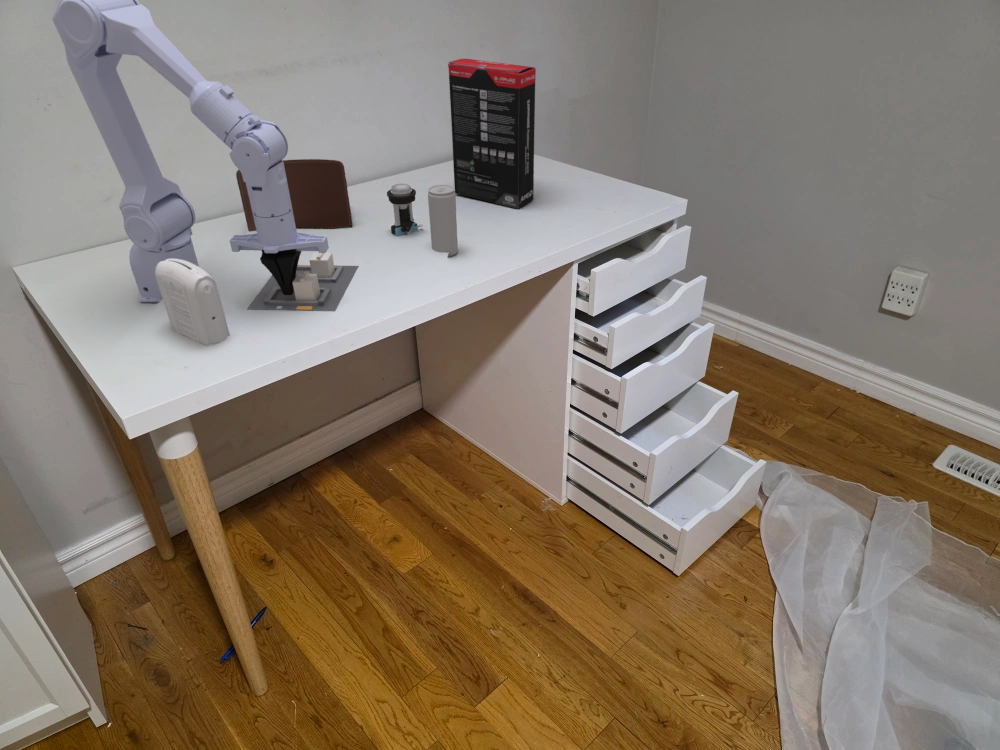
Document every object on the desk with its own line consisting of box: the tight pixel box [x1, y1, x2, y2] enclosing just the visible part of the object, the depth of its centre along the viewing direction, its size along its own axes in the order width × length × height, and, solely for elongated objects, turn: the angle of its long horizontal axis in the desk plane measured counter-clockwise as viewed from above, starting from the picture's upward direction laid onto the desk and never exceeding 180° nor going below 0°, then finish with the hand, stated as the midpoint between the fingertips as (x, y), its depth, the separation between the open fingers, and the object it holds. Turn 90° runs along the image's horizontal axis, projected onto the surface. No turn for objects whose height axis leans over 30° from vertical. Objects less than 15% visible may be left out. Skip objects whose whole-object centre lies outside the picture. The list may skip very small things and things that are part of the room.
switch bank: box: [246, 264, 359, 312], centre depth 114 cm, size 14×16×2 cm
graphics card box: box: [447, 58, 537, 210], centre depth 142 cm, size 17×7×27 cm, turn 58°
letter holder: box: [235, 158, 353, 232], centre depth 136 cm, size 10×20×14 cm, turn 103°
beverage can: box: [427, 184, 459, 258], centre depth 124 cm, size 5×5×12 cm
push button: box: [386, 183, 424, 238], centre depth 130 cm, size 7×5×10 cm
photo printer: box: [155, 259, 231, 347], centre depth 100 cm, size 10×4×12 cm, turn 55°
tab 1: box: [292, 272, 320, 301], centre depth 109 cm, size 3×3×4 cm
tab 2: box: [308, 252, 335, 278], centre depth 116 cm, size 3×3×4 cm
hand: (289, 292), depth 110 cm, fingers closed
